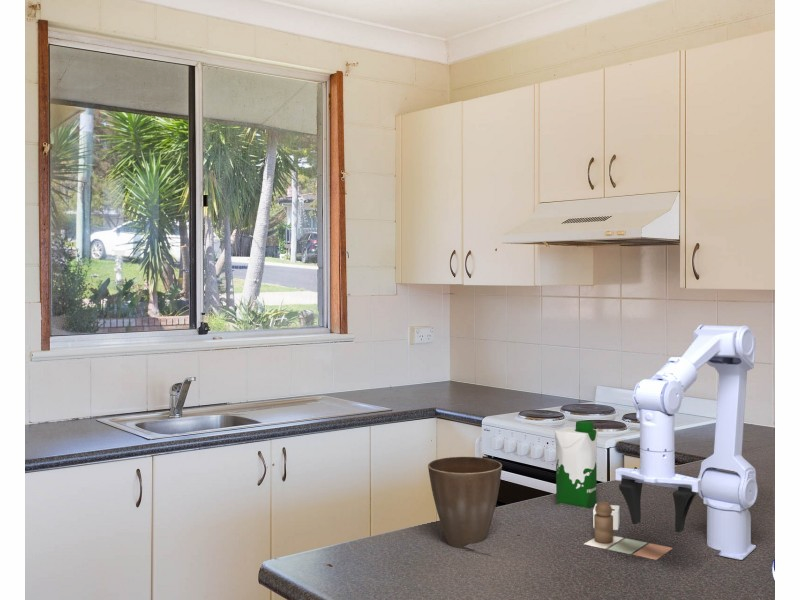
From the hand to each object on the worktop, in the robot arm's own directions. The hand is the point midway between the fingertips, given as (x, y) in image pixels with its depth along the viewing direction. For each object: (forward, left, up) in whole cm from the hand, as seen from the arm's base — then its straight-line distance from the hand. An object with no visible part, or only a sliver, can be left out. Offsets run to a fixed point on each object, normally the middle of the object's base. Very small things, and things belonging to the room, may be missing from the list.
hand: (657, 526), depth 137 cm
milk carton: (-36, -34, -10) cm, 51 cm away
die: (-22, -20, -10) cm, 32 cm away
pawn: (-12, -16, -9) cm, 22 cm away
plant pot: (+3, -39, -10) cm, 40 cm away
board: (-12, -11, -10) cm, 19 cm away
